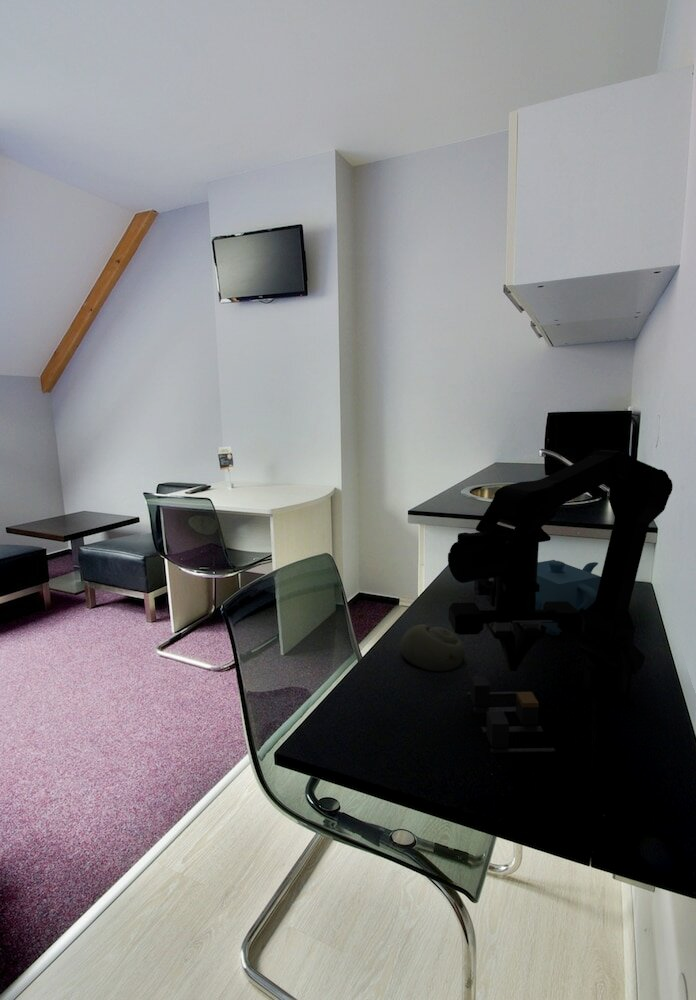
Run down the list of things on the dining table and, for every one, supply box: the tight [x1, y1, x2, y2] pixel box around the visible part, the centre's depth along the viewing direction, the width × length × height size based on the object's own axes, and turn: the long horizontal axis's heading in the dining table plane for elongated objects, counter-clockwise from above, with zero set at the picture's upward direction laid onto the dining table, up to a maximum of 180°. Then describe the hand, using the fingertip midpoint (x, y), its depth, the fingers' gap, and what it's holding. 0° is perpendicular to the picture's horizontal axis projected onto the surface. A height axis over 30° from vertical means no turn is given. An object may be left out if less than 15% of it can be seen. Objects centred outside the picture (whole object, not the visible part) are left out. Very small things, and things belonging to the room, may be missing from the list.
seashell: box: [399, 623, 465, 672], centre depth 97 cm, size 13×8×10 cm
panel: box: [466, 691, 556, 754], centre depth 78 cm, size 18×16×1 cm
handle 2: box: [485, 711, 510, 749], centre depth 72 cm, size 2×3×4 cm
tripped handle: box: [515, 691, 540, 726], centre depth 77 cm, size 2×3×4 cm
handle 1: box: [469, 675, 491, 708], centre depth 82 cm, size 2×3×4 cm
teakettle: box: [535, 559, 601, 636], centre depth 114 cm, size 19×19×15 cm
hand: (511, 669), depth 76 cm, fingers closed
